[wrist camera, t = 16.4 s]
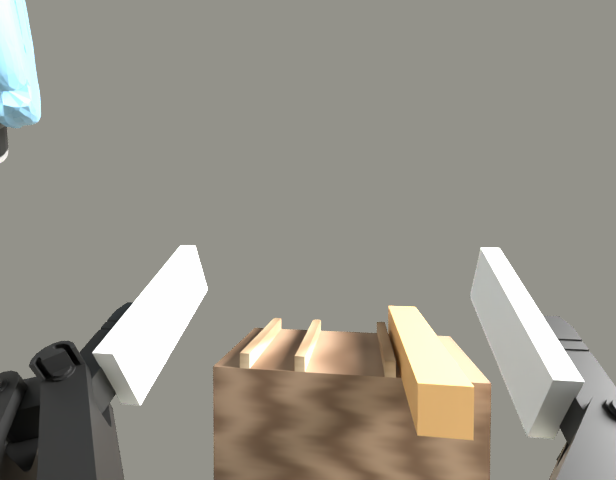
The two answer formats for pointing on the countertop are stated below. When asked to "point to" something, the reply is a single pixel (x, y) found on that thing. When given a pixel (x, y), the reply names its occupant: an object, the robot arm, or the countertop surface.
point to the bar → (430, 378)
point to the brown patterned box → (333, 411)
